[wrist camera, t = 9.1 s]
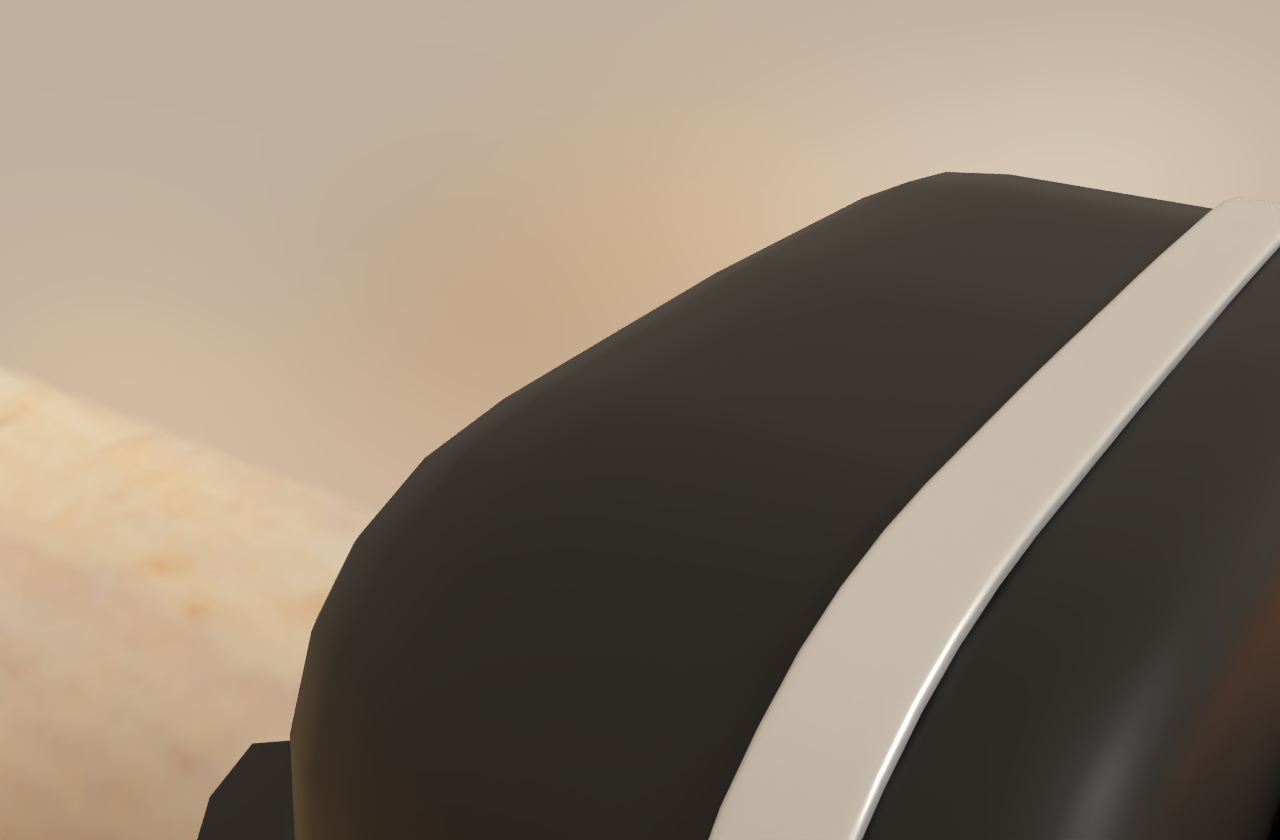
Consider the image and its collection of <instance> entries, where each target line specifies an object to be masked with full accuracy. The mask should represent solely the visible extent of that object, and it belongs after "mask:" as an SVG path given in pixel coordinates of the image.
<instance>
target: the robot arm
mask: <svg viewBox="0 0 1280 840" xmlns="http://www.w3.org/2000/svg"><path fill="white" fill-rule="evenodd" d="M197 840H295V835H294V813H293V791H292V768H291V746H290V741H280V742H267V743H255V744H252V745H251V746H250V747H249V749H248V750H247V751H246V752H245V754H244V755H243V756H242V757H241V759H240V760H239V761H238V762H237V764H236V765H235V766H234V768H233V769H232V770H231V771H230V773H229V774H228V775H227V776H226V778H225V779H224V780H223V781H222V783H221V784H220V785H219V786H218V788H217V789H216V790H215V791H214V793H213V794H212V795H211V796H210V799H209V802H208V805H207V809H206V812H205V815H204V819H203V822H202V826H201V829H200V832H199V836H198V839H197ZM1272 840H1280V815H1279V818H1278V821H1277V824H1276V827H1275V830H1274V833H1273V836H1272Z"/></svg>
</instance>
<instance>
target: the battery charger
mask: <svg viewBox="0 0 1280 840" xmlns="http://www.w3.org/2000/svg"><path fill="white" fill-rule="evenodd" d="M290 746H291V768H292V791H293V813H294V835H295V840H1272V836H1273V833H1274V830H1275V827H1276V824H1277V821H1278V818H1279V815H1280V204H1278V203H1271V202H1265V201H1260V200H1253V199H1247V198H1241V197H1239V198H1234V199H1231V200H1227V201H1224V202H1223V203H1221V204H1220V205H1218V206H1217V207H1215V208H1214V209H1211V208H1205V207H1199V206H1193V205H1187V204H1181V203H1175V202H1169V201H1163V200H1157V199H1151V198H1145V197H1139V196H1134V195H1128V194H1122V193H1116V192H1110V191H1104V190H1098V189H1092V188H1086V187H1080V186H1074V185H1068V184H1062V183H1057V182H1051V181H1045V180H1038V179H1032V178H1027V177H1020V176H1014V175H1007V174H982V173H981V174H980V173H956V172H945V173H941V174H937V175H933V176H929V177H925V178H922V179H918V180H915V181H910V182H907V183H904V184H901V185H899V186H896V187H893V188H890V189H888V190H884V191H882V192H879V193H876V194H873V195H870V196H868V197H865V198H862V199H860V200H858V201H856V202H854V203H853V204H851V205H848V206H847V207H845V208H843V209H841V210H839V211H837V212H835V213H833V214H831V215H829V216H827V217H825V218H823V219H821V220H819V221H817V222H815V223H813V224H811V225H809V226H807V227H805V228H803V229H801V230H800V231H797V232H796V233H793V234H792V235H790V236H788V237H786V238H784V239H782V240H780V241H778V242H776V243H774V244H772V245H770V246H768V247H766V248H764V249H762V250H760V251H758V252H756V253H755V254H753V255H750V256H749V257H747V258H745V259H743V260H741V261H739V262H737V263H735V264H733V265H731V266H729V267H727V268H725V269H723V270H721V271H719V272H717V273H715V274H714V275H712V276H710V277H708V278H707V279H705V280H703V281H702V282H700V283H698V284H697V285H695V286H693V287H692V288H690V289H688V290H686V291H685V292H683V293H681V294H680V295H678V296H677V297H675V298H673V299H671V300H670V301H668V302H666V303H665V304H663V305H661V306H660V307H658V308H656V309H654V310H653V311H651V312H649V313H648V314H646V315H644V316H643V317H641V318H639V319H638V320H636V321H634V322H632V323H631V324H629V325H627V326H626V327H624V328H622V329H621V330H619V331H617V332H616V333H614V334H612V335H611V336H609V337H607V338H606V339H604V340H602V341H600V342H599V343H597V344H595V345H594V346H592V347H590V348H589V349H587V350H586V351H584V352H582V353H580V354H579V355H577V356H575V357H573V358H572V359H570V360H568V361H567V362H565V363H563V364H562V365H560V366H558V367H557V368H555V369H553V370H552V371H550V372H548V373H547V374H545V375H543V376H542V377H540V378H538V379H536V380H535V381H533V382H531V383H530V384H528V385H526V386H525V387H523V388H521V389H520V390H518V391H516V392H515V393H513V394H511V395H510V396H508V397H506V398H505V399H503V400H502V401H500V402H499V403H498V404H496V405H495V406H494V407H493V408H491V409H490V410H489V411H487V412H486V413H484V414H483V415H482V416H480V417H479V418H478V419H477V420H475V421H474V422H472V423H471V424H470V425H468V426H467V427H466V428H464V429H463V430H462V431H460V432H459V433H458V434H456V435H455V436H454V437H452V438H451V439H450V440H448V441H447V442H446V443H444V444H443V445H442V446H440V447H439V448H438V449H436V450H435V451H434V452H432V453H431V454H430V455H428V456H427V457H426V458H424V460H423V461H422V462H421V463H420V464H419V466H418V467H417V468H416V469H415V470H414V472H413V473H412V474H411V475H410V476H409V477H408V479H407V480H406V481H405V482H404V483H403V485H402V486H401V487H400V488H399V489H398V490H397V492H396V493H395V494H394V495H393V496H392V498H391V499H390V500H389V501H388V503H386V505H385V506H384V507H383V508H382V509H381V511H380V512H379V513H378V514H377V515H376V516H375V518H374V519H373V520H372V521H371V522H370V524H369V525H368V526H367V527H366V528H365V530H364V531H363V532H362V533H361V534H360V535H359V537H358V538H357V539H356V541H355V542H354V544H353V546H352V548H351V550H350V552H349V554H348V556H347V558H346V560H345V562H344V564H343V566H342V568H341V570H340V572H339V574H338V577H337V579H336V581H335V583H334V585H333V587H332V589H331V591H330V593H329V595H328V597H327V599H326V601H325V603H324V605H323V607H322V609H321V611H320V613H319V615H318V617H317V619H316V622H315V624H314V627H313V629H312V632H311V637H310V641H309V646H308V651H307V656H306V661H305V665H304V670H303V675H302V680H301V684H300V689H299V694H298V699H297V704H296V708H295V713H294V718H293V723H292V728H291V732H290Z"/></svg>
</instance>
